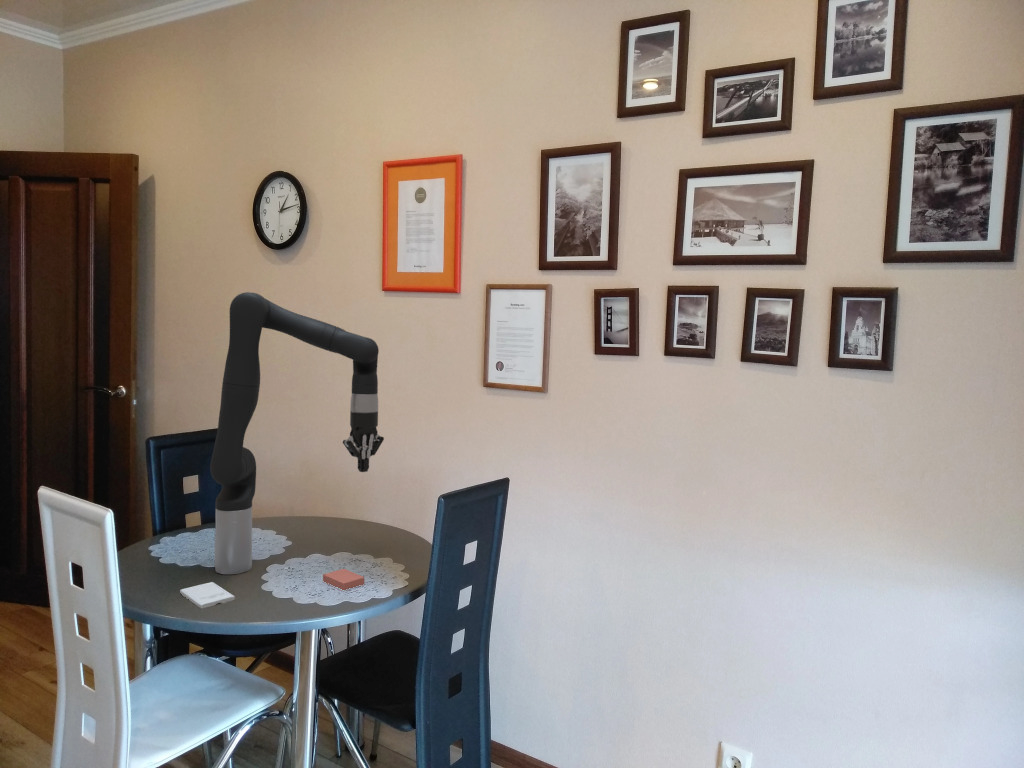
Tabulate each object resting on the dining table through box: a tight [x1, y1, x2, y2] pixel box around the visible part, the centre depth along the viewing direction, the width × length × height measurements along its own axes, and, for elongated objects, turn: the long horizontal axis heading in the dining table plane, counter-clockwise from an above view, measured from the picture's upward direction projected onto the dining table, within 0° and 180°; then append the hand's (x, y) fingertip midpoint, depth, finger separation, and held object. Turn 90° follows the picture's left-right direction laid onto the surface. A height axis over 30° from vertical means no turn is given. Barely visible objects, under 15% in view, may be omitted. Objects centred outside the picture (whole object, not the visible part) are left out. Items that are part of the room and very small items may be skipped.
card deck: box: [322, 568, 365, 591], centre depth 180 cm, size 9×2×6 cm
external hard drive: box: [179, 581, 236, 609], centre depth 168 cm, size 2×8×12 cm
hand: (363, 471), depth 191 cm, fingers closed
